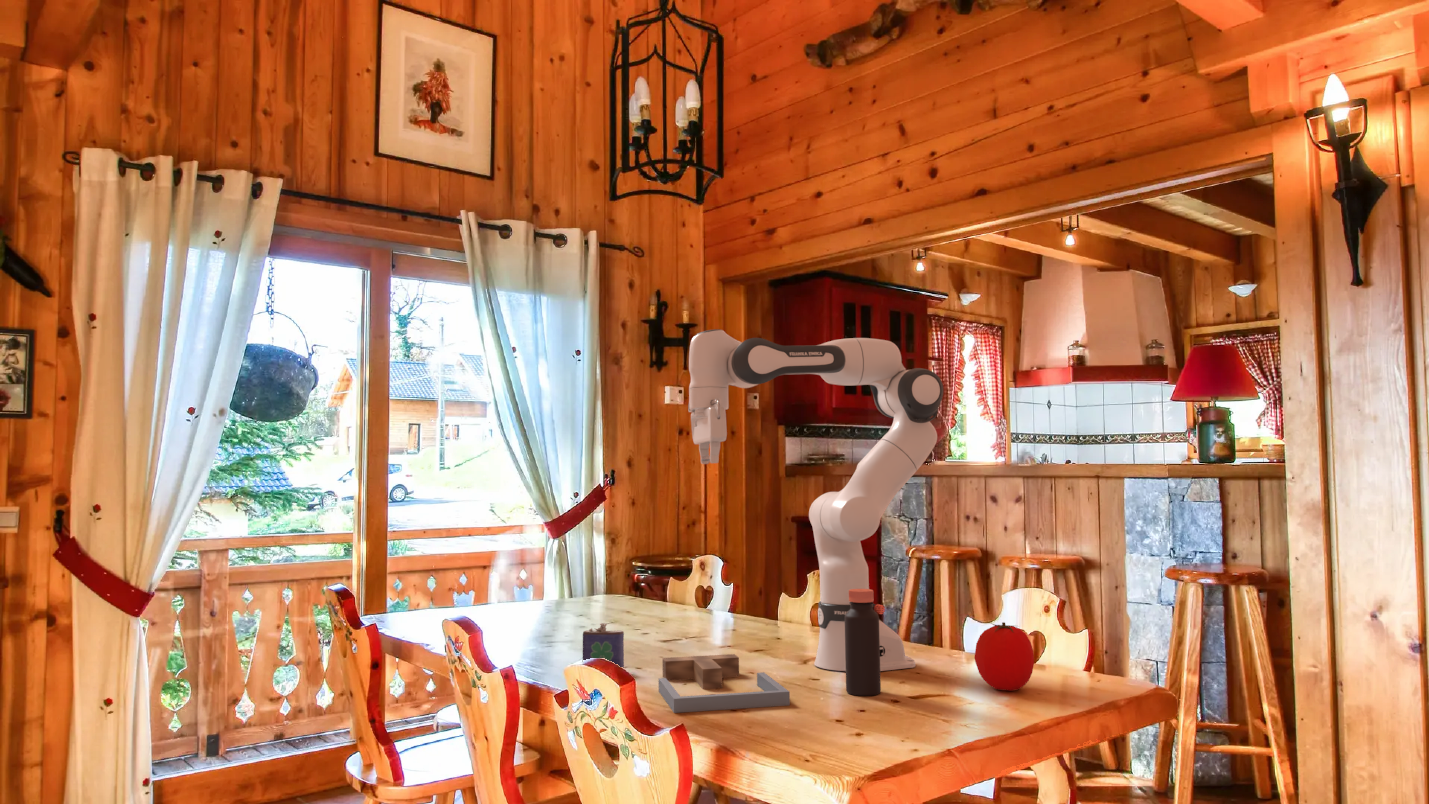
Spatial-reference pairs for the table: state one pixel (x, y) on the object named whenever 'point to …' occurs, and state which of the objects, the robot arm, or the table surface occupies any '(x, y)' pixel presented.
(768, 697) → the corral
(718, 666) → the t block
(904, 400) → the robot arm
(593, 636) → the flask
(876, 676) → the bottle
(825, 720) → the table surface
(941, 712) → the table surface
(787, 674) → the table surface
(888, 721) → the table surface
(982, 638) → the tomato
